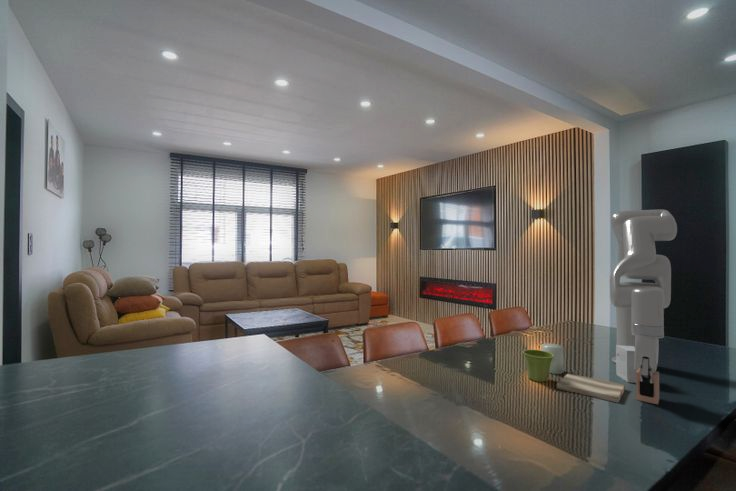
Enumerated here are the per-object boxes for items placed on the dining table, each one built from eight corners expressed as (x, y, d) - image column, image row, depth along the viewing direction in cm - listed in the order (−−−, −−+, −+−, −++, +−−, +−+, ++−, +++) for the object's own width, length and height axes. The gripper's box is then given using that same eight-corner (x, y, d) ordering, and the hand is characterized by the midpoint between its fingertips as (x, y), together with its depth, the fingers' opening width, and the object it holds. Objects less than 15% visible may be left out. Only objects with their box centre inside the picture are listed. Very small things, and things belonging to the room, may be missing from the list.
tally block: (638, 394, 110) (637, 368, 110) (659, 399, 106) (659, 371, 106) (636, 399, 106) (635, 371, 106) (658, 404, 103) (657, 375, 103)
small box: (646, 384, 119) (646, 351, 119) (627, 382, 120) (626, 350, 120) (633, 376, 127) (633, 345, 127) (615, 374, 128) (615, 344, 128)
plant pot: (553, 377, 125) (553, 351, 125) (554, 386, 116) (554, 358, 116) (523, 373, 129) (523, 348, 129) (522, 381, 120) (522, 354, 120)
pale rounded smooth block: (545, 366, 136) (545, 342, 137) (565, 370, 132) (565, 345, 132) (539, 371, 131) (539, 345, 131) (560, 375, 126) (560, 349, 127)
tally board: (568, 377, 124) (568, 373, 124) (625, 389, 114) (625, 384, 114) (556, 388, 114) (556, 383, 114) (618, 402, 103) (618, 397, 103)
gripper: (634, 324, 115) (635, 382, 115) (627, 333, 103) (627, 398, 102) (665, 328, 110) (665, 388, 110) (661, 337, 98) (662, 405, 97)
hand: (647, 392), depth 106 cm, fingers closed on tally block, 5 cm apart
